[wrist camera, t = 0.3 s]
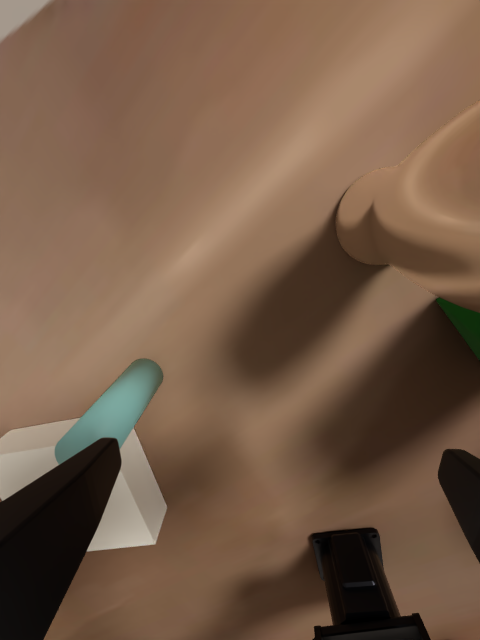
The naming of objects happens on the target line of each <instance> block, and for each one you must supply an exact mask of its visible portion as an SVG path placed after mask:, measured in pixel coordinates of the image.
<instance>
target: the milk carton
mask: <svg viewBox="0 0 480 640" xmlns="http://www.w3.org/2000/svg"><path fill="white" fill-rule="evenodd" d="M436 301H437V303H438V304H439V305H440V307H441V308H442V309H443V311H444V312H445V314H446V315H447V316H448V318H449V319H450V320H451V322H452V323H453V325H454V326H455V327H456V329H457V330H458V332H459V333H460V334H461V336H462V337H463V338H464V340H465V341H466V343H467V344H468V345H469V347H470V348H471V350H472V351H473V352H474V354H475V355H476V356H477V358H478V359H479V361H480V314H479V313H476V312H473V311H470V310H467V309H465V308H462V307H460V306H458V305H455V304H453V303H451V302H448V301H446V300H444V299H441V298H437V299H436Z"/></svg>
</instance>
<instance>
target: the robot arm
mask: <svg viewBox="0 0 480 640" xmlns="http://www.w3.org/2000/svg"><path fill="white" fill-rule="evenodd" d="M121 464H122V460H121V454H120V448H119V443H118V440H117V439H116V438H111V437H103V438H100V439H98V440H97V441H95V442H94V443H92V444H91V445H89V446H88V447H86V448H84V449H83V450H81V451H80V452H78V453H77V454H75V455H74V456H72V457H70V458H69V459H67V460H66V461H64V462H63V463H61V464H59V465H58V466H56V467H55V468H53V469H52V470H50V471H49V472H47V473H45V474H44V475H42V476H41V477H39V478H38V479H36V480H35V481H33V482H31V483H30V484H28V485H27V486H25V487H24V488H22V489H20V490H19V491H17V492H16V493H14V494H13V495H11V496H10V497H8V498H6V499H5V500H3V501H2V502H0V640H43V639H44V637H45V635H46V633H47V631H48V629H49V627H50V625H51V623H52V621H53V619H54V617H55V615H56V613H57V611H58V609H59V607H60V604H61V602H62V600H63V598H64V596H65V594H66V592H67V590H68V588H69V586H70V584H71V582H72V580H73V578H74V576H75V574H76V572H77V570H78V568H79V566H80V563H81V561H82V559H83V557H84V555H85V553H86V551H87V549H88V547H89V545H90V543H91V541H92V539H93V537H94V535H95V532H96V530H97V528H98V526H99V523H100V521H101V519H102V516H103V513H104V511H105V508H106V506H107V503H108V500H109V498H110V495H111V492H112V490H113V487H114V485H115V482H116V479H117V477H118V474H119V472H120V469H121ZM438 479H439V482H440V485H441V487H442V489H443V491H444V493H445V495H446V497H447V499H448V501H449V503H450V505H451V508H452V510H453V512H454V514H455V516H456V518H457V520H458V522H459V524H460V526H461V528H462V530H463V532H464V535H465V537H466V539H467V540H468V542H469V544H470V546H471V548H472V550H473V552H474V554H475V555H476V557H477V559H478V561H479V563H480V459H478V458H477V457H475V456H473V455H472V454H470V453H468V452H466V451H464V450H461V449H446V450H445V451H444V452H443V455H442V458H441V462H440V466H439V470H438ZM312 542H313V546H314V551H315V555H316V560H317V564H318V568H319V573H320V577H321V579H322V580H324V581H325V586H326V591H327V596H328V601H329V607H330V612H331V617H332V622H333V625H332V626H324V627H321V626H314V632H315V638H314V639H313V640H431V639H430V637H429V635H428V633H427V630H426V628H425V626H424V624H423V621H422V619H421V617H420V615H419V613H413V614H412V615H410V616H402V617H401V616H400V613H399V610H398V608H397V605H396V602H395V600H394V597H393V594H392V591H391V589H390V586H389V583H388V581H387V578H386V575H385V573H384V568H383V560H382V552H381V544H380V536H379V533H378V531H377V530H376V529H374V528H372V529H362V530H352V531H342V532H332V533H323V534H315V535H313V536H312Z"/></svg>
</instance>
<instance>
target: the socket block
mask: <svg viewBox="0 0 480 640" xmlns="http://www.w3.org/2000/svg"><path fill="white" fill-rule="evenodd" d="M79 419H80V418H76V419H70V420H64V421H59V422H53V423H47V424H42V425H36V426H30V427H25V428H19V429H13V430H10V431H9V432H8V433H6V434H5V435H4V436H3V437H1V438H0V498H1V499H2V501H3V500H5V499H6V498H8V497H10V496H11V495H13V494H14V493H16V492H17V491H19V490H20V489H22V488H24V487H25V486H27V485H28V484H30V483H31V482H33V481H35V480H36V479H38V478H39V477H41V476H42V475H44V474H45V473H47V472H49V471H50V470H52V469H53V468H55V467H56V466H58V465H59V464H58V462H57V460H56V458H55V446H56V444H57V443H58V441H59V440H60V439H61V438H62V437H63V436H64V435H65V434H66V433H67V432H68V431H69V430H70V429H71V428H72V426H73V425H74V424H75V423H76V422H77V421H78V420H79ZM120 454H121V460H122V464H121V469H120V472H119V474H118V477H117V479H116V482H115V485H114V487H113V490H112V492H111V495H110V498H109V500H108V503H107V506H106V508H105V511H104V513H103V516H102V519H101V521H100V523H99V526H98V528H97V530H96V532H95V535H94V537H93V539H92V541H91V543H90V545H89V547H88V549H87V551H96V550H105V549H115V548H124V547H134V546H143V545H153V544H156V540H157V537H158V534H159V531H160V528H161V525H162V522H163V519H164V516H165V513H166V510H167V505H166V503H165V500H164V498H163V496H162V493H161V491H160V489H159V486H158V484H157V482H156V479H155V477H154V475H153V472H152V470H151V467H150V465H149V463H148V460H147V458H146V456H145V453H144V451H143V449H142V446H141V444H140V442H139V439H138V437H137V435H136V432H135V430H134V428H133V429H132V431H131V432H130V434H129V435H128V437H127V439H126V440H125V442H124V443H123V445H122V447H121V448H120Z"/></svg>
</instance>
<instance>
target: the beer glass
mask: <svg viewBox="0 0 480 640" xmlns="http://www.w3.org/2000/svg"><path fill="white" fill-rule="evenodd" d="M336 233H337V237H338V240H339V242H340V244H341V246H342V247H343V249H344V250H345V251H346V253H347V254H348V255H350V256H351V257H352V258H354V259H355V260H357V261H359V262H362V263H365V264H371V265H385V264H390V265H391V266H392V267H393V268H395V269H396V270H397V271H398V272H400V273H401V274H402V275H404V276H405V277H406V278H408V279H409V280H410V281H412V282H413V283H415V284H417V285H418V286H420V287H421V288H423V289H425V290H426V291H428V292H430V293H431V294H433V295H435V296H437V297H439V298H441V299H444V300H446V301H448V302H451V303H453V304H455V305H458V306H460V307H462V308H465V309H467V310H470V311H473V312H476V313H479V314H480V100H478V101H477V102H475V103H473V104H472V105H470V106H469V107H467V108H466V109H464V110H463V111H461V112H460V113H458V114H457V115H456V116H454V117H453V118H452V119H451V120H449V121H448V122H447V123H445V124H444V125H443V126H442V127H440V128H439V129H438V130H437V131H435V132H434V133H433V134H432V135H430V136H429V137H428V138H427V139H426V140H424V141H423V142H422V143H421V144H420V145H419V146H418V147H417V148H416V149H415V150H413V151H412V152H411V153H410V154H409V155H408V156H407V157H406V158H405V159H404V160H403V161H402V162H401V163H400V164H398V165H397V166H392V167H384V168H379V169H376V170H373V171H371V172H369V173H367V174H365V175H363V176H362V177H360V178H359V179H358V180H357V181H355V182H354V183H353V184H352V185H351V186H350V188H349V189H348V190H347V191H346V193H345V194H344V196H343V198H342V200H341V202H340V204H339V207H338V210H337V214H336Z"/></svg>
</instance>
